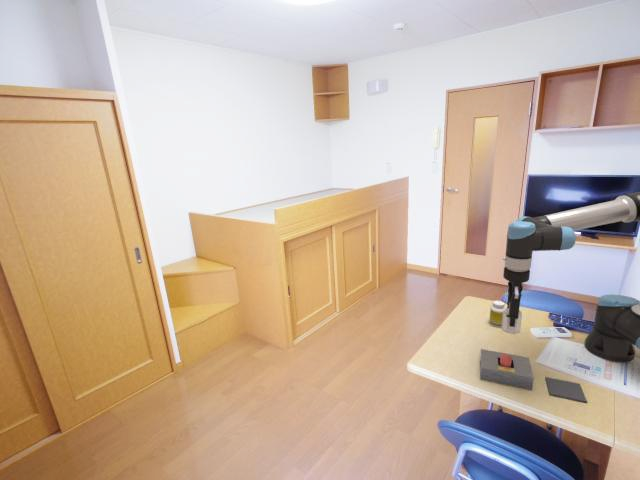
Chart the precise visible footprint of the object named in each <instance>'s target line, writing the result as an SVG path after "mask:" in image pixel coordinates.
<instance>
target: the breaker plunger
mask: <svg viewBox="0 0 640 480" xmlns="http://www.w3.org/2000/svg"><path fill="white" fill-rule="evenodd" d="M507 354H508V353H506V354H502V355H501V357H500V366H505V367H510V368H511V363H512V357H511V356H509V355H507Z"/></svg>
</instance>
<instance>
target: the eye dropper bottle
mask: <svg viewBox="0 0 640 480" xmlns="http://www.w3.org/2000/svg"><path fill="white" fill-rule="evenodd" d="M509 307H510V303H509ZM506 315H509V308H507V307H506V308H505V309H504V310H503V317H502V327H501V330H502V332H504V333H506V330H507V320H508V317H506ZM522 316H523V314H522V311H521V310H519V315H518V319H517V324H516V333H515V334H520V333H521V327H522V318H523V317H522Z"/></svg>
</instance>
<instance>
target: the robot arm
mask: <svg viewBox="0 0 640 480" xmlns="http://www.w3.org/2000/svg"><path fill="white" fill-rule="evenodd" d="M618 222H623V223H632V222H640V191H638V192H636V191H635V192H633V193H628V194H624V195H619V196H618V197H616V198H615V199H614V200H610V201H606V202H601V203H596V204H591V205H586V206H582V207H578V208H573V209H568V210H564V211H560V212H555V213H550V214H545V215H541V216H535V217H531V216H525V215H524V216H521V217H518V219H516V220H515V221H512V222H511V223H509V224H508V227H507V228H508V229H507V233H506V244H505V245H506V247H505V257H502V260H503V261H504V267H503V279H505V280H506V281H507V287H508V288H507V302H506V306H507V307H506V309H507V308H509V315H506V317H508V320H507V330H506V332H505V333H506V334H510V335H516V334H517V333H516V324H517V319H518V315H519V311H520V306H521V299H522V295H523V294H522V291H523V286H522V285H523V284H522V283H527V282H528V281H529V280H530V275H531V267H532V262H533V261H532V260H533V252H541V251H542V252H543V251H549V252H550V251H565V250H570V249H572V248H573V247H574V246H575V244H576V239H577V237H576V233H575V231H580V230H584V229H585V230H586V229H589V228H595V227H598V226H603V225H608V224H615V223H618ZM509 303H510V307H509ZM583 346H584V347H585V348H586V350H587V351H588V352H590V353H591V354H593V355H595V356H597V357H599V358H601V359H604V360H607V361H611V362H616V363H630V362H633V361H634V360H635V358H636V349H635V347H636V348H637V349H639V350H640V299H637V298H634V297H631V296H627V295H620V294H604V295H601V296H599V298H598V302H597V303H596V310H595V317H594V321H593V326H592V329H591V331H589V334H588V335H587V336H586V337H585V339H584V344H583Z"/></svg>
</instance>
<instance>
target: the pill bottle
mask: <svg viewBox="0 0 640 480" xmlns="http://www.w3.org/2000/svg"><path fill="white" fill-rule="evenodd" d="M504 309H506V307H505V302H503V301H501V300H493V301H492V305H491V307H490V309H489V321H488V322H489V324H490V326H493V327H495V328H502V317H503V310H504Z"/></svg>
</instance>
